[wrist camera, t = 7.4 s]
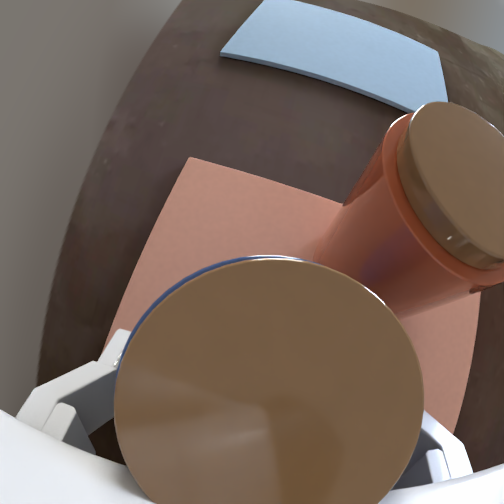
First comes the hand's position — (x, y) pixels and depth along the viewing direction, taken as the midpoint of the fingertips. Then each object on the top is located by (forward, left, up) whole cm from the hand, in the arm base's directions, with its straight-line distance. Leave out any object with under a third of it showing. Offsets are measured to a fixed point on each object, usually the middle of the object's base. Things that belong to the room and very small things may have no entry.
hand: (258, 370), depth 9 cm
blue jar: (0, -1, -5) cm, 5 cm away
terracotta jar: (+4, +6, -5) cm, 9 cm away
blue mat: (0, +28, -6) cm, 29 cm away
